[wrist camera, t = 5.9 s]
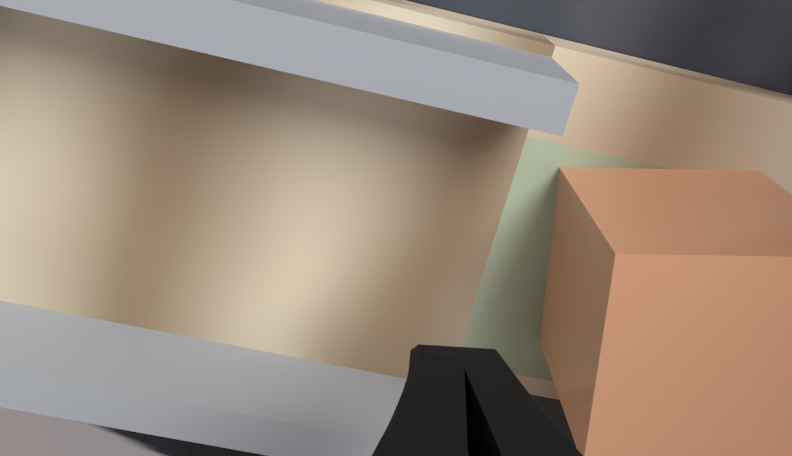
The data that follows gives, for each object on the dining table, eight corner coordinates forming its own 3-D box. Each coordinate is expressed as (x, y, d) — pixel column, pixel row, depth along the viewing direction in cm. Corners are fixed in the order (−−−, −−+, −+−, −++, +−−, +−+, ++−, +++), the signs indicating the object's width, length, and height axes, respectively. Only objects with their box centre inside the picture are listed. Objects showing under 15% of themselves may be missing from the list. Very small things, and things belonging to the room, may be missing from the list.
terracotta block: (759, 170, 17) (879, 258, 13) (720, 343, 19) (814, 468, 15) (558, 166, 17) (615, 254, 13) (539, 340, 19) (582, 465, 15)
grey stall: (551, 57, 16) (579, 84, 14) (437, 418, 20) (443, 487, 17) (-92, -100, 15) (-182, -99, 12) (-87, 319, 18) (-155, 380, 16)
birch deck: (843, 108, 18) (881, 125, 17) (628, 553, 24) (643, 594, 22) (-101, -125, 16) (-148, -127, 14) (-91, 428, 21) (-124, 465, 20)
